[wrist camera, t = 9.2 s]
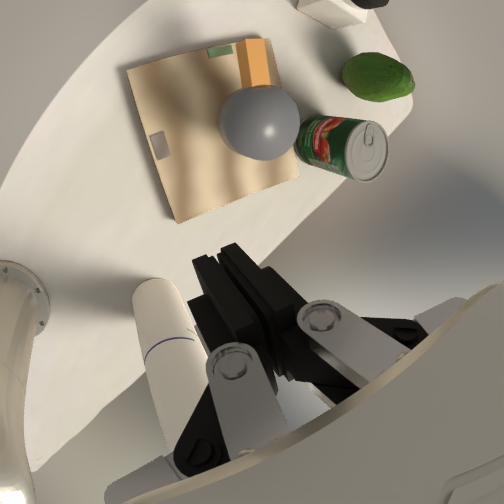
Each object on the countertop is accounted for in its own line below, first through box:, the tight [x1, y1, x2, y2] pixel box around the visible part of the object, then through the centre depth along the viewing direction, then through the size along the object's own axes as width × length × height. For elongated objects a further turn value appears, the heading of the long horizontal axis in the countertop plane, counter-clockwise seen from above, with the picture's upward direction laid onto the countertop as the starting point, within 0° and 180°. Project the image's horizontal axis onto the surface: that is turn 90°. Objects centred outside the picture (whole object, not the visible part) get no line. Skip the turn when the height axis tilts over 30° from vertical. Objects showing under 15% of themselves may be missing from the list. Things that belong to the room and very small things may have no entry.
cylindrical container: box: [132, 278, 209, 453], centre depth 31 cm, size 7×7×25 cm
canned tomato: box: [294, 115, 389, 183], centre depth 36 cm, size 8×8×11 cm
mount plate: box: [126, 38, 299, 224], centre depth 32 cm, size 18×20×6 cm
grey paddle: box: [218, 39, 300, 161], centre depth 27 cm, size 13×8×3 cm, turn 8°
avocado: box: [342, 52, 415, 102], centre depth 33 cm, size 8×8×12 cm
